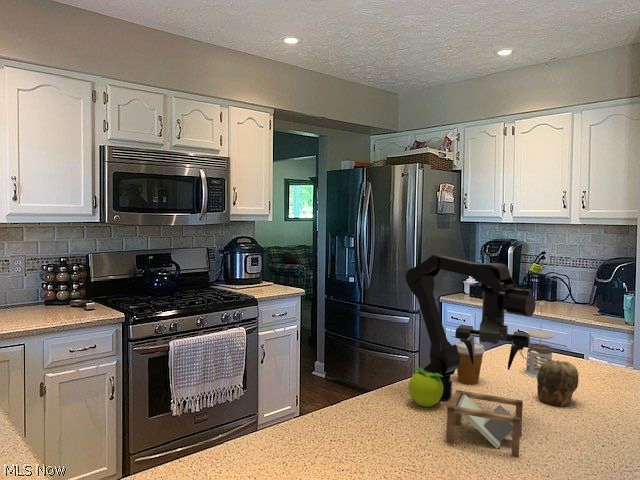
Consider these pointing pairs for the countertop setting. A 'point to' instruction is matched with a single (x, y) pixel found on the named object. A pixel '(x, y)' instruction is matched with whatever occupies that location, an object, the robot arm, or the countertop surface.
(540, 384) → the shell
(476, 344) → the disposable coffee cup
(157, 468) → the countertop surface
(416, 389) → the fruit
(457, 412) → the frame
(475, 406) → the trapdoor
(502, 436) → the gray cube
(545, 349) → the french press
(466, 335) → the robot arm
